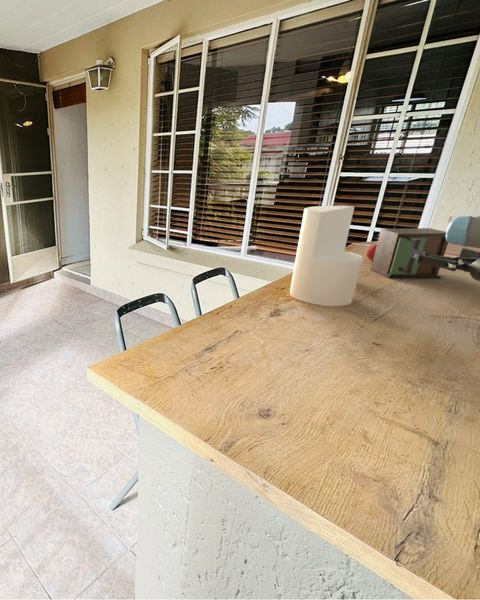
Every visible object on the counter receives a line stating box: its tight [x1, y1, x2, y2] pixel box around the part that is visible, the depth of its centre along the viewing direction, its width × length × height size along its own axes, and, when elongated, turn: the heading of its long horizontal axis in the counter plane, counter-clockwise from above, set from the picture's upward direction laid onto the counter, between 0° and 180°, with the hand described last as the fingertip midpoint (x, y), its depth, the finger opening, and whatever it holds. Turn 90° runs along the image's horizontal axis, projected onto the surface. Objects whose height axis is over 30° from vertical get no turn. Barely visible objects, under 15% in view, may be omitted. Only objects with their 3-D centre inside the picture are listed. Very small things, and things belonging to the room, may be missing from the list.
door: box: [389, 237, 427, 275], centre depth 122 cm, size 6×8×14 cm
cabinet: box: [370, 227, 449, 280], centre depth 128 cm, size 12×16×16 cm
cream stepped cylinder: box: [289, 205, 364, 307], centre depth 109 cm, size 17×17×28 cm
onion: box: [365, 243, 377, 262], centre depth 147 cm, size 6×6×8 cm
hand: (436, 252), depth 110 cm, fingers open, 13 cm apart
